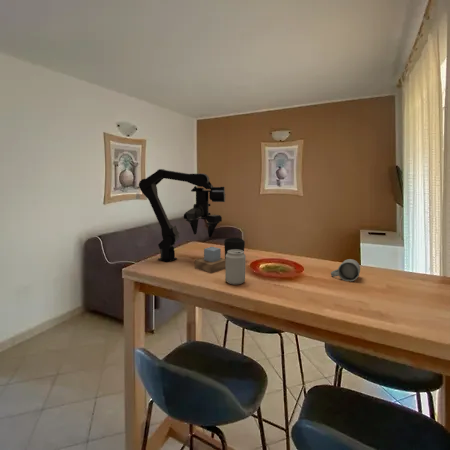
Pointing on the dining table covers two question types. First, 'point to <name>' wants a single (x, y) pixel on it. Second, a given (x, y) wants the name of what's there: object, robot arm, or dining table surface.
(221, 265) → the walnut block
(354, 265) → the ceramic mug
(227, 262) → the can
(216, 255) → the cube
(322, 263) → the dining table surface
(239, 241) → the pen holder
